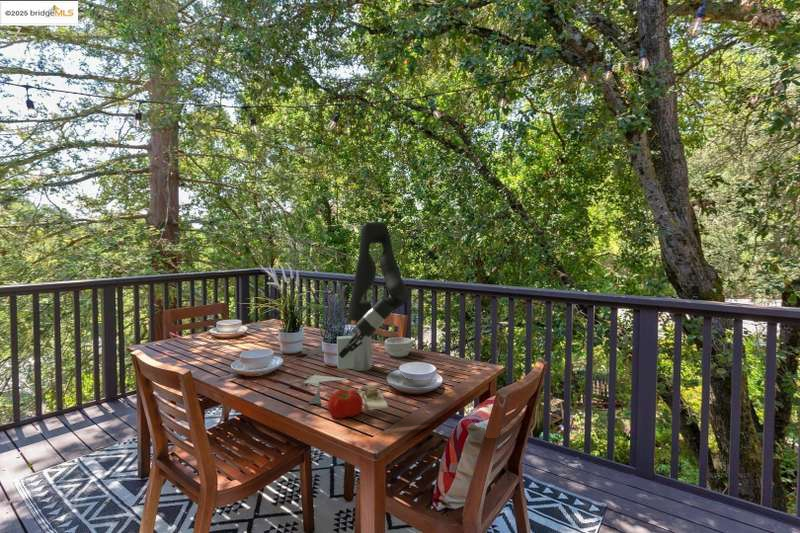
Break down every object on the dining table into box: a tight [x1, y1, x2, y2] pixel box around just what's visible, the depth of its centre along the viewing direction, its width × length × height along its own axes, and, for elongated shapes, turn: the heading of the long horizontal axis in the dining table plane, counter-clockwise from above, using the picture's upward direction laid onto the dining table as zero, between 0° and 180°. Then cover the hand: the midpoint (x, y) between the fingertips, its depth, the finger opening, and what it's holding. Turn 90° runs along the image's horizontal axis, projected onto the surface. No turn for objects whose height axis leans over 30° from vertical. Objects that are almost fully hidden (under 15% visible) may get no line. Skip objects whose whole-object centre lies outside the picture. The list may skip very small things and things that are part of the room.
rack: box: [357, 387, 390, 411], centre depth 165 cm, size 18×9×2 cm, turn 13°
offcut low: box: [363, 390, 377, 398], centre depth 169 cm, size 6×4×2 cm
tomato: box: [327, 389, 363, 420], centre depth 152 cm, size 14×13×9 cm
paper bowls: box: [384, 337, 414, 358], centre depth 226 cm, size 15×15×8 cm
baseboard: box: [301, 373, 347, 387], centre depth 183 cm, size 31×3×12 cm
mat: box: [308, 391, 322, 406], centre depth 168 cm, size 12×8×1 cm, turn 173°
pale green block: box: [336, 335, 354, 370], centre depth 163 cm, size 4×6×12 cm, turn 104°
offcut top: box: [363, 384, 378, 394], centre depth 169 cm, size 5×4×2 cm
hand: (340, 354), depth 163 cm, fingers closed on pale green block, 3 cm apart
